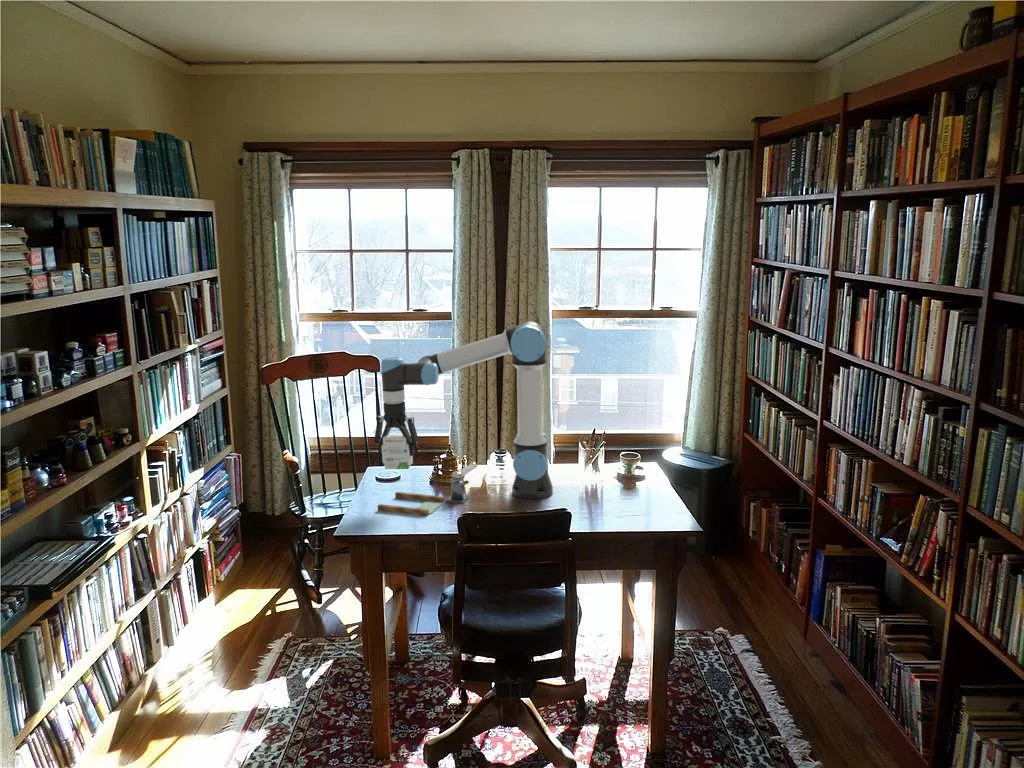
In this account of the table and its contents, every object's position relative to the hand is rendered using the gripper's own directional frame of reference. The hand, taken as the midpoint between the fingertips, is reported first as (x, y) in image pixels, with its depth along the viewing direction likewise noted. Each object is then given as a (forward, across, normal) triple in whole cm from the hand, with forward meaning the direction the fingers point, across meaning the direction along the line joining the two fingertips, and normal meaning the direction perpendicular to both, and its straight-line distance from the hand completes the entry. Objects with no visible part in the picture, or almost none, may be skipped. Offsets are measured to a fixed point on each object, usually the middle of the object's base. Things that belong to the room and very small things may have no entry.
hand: (397, 463), depth 273 cm
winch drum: (+16, -18, -11) cm, 26 cm away
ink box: (+2, 0, 0) cm, 2 cm away
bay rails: (+16, -5, 0) cm, 16 cm away
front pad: (+16, -11, 0) cm, 19 cm away
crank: (+8, -19, -17) cm, 27 cm away
